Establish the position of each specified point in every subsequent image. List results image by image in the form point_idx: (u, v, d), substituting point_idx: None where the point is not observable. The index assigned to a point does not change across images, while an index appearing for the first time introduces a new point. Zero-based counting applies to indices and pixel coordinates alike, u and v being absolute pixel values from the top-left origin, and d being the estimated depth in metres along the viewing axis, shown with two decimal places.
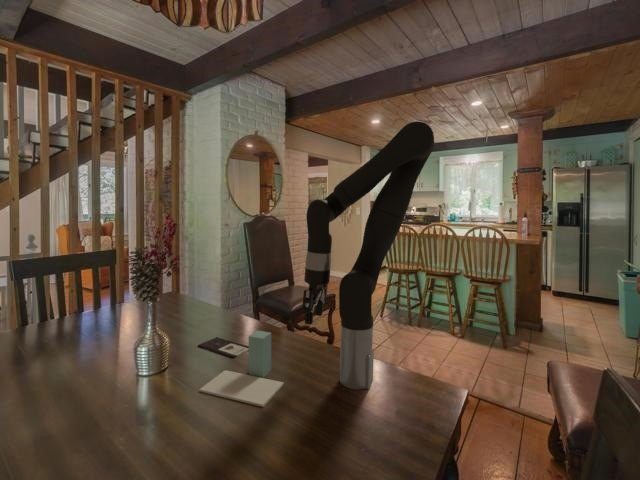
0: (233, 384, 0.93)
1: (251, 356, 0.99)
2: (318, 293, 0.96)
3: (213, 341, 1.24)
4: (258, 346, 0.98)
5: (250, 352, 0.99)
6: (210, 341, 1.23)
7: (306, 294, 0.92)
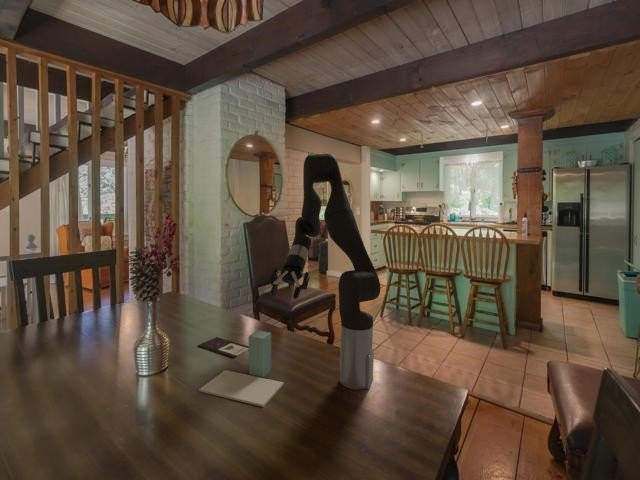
0: (233, 384, 0.93)
1: (251, 356, 0.99)
2: None
3: (213, 341, 1.24)
4: (258, 346, 0.98)
5: (250, 352, 0.99)
6: (210, 341, 1.23)
7: None
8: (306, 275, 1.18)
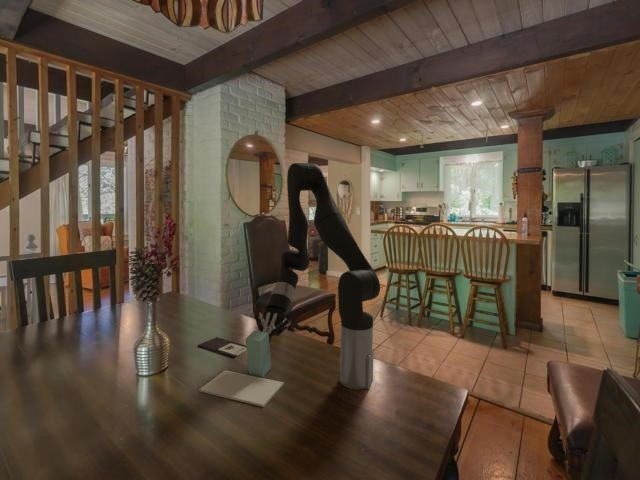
0: (233, 384, 0.93)
1: (249, 357, 0.99)
2: None
3: (213, 341, 1.24)
4: (256, 348, 0.97)
5: (248, 354, 0.98)
6: (210, 341, 1.23)
7: None
8: (284, 323, 1.05)
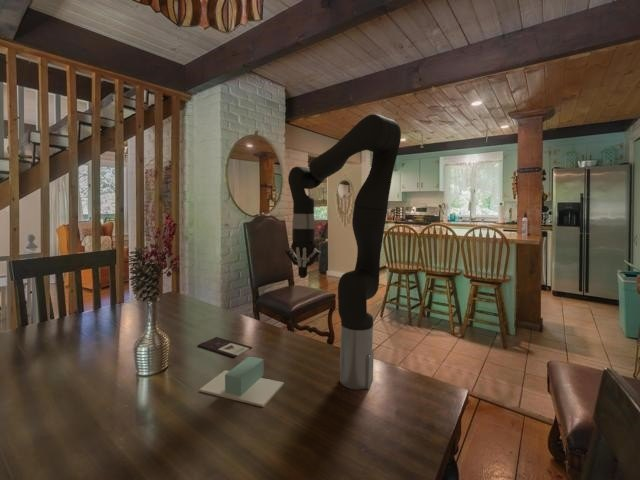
0: None
1: None
2: None
3: (212, 340, 1.24)
4: None
5: None
6: (210, 341, 1.23)
7: None
8: (316, 255, 1.09)
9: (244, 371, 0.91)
